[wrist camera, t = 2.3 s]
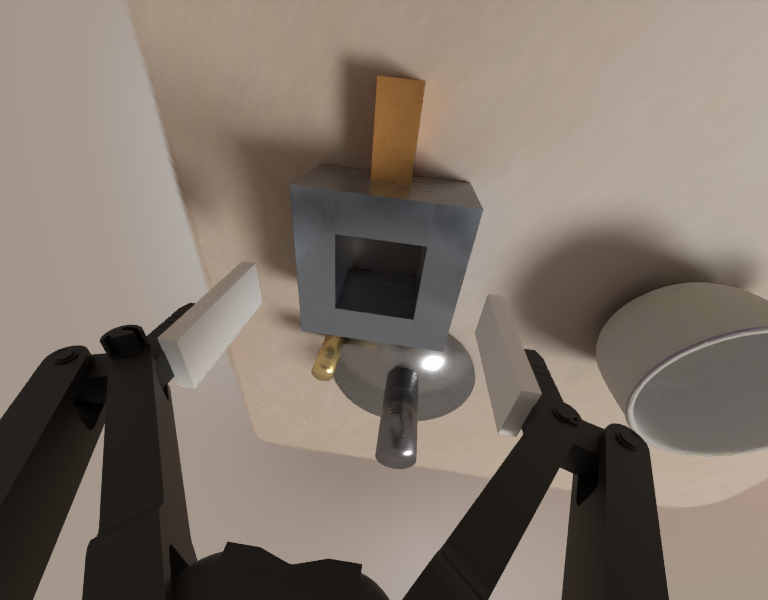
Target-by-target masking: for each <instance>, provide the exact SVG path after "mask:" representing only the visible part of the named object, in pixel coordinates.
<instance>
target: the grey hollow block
mask: <svg viewBox="0 0 768 600" xmlns="http://www.w3.org/2000/svg"><path fill="white" fill-rule="evenodd" d="M424 89H425V81H423V80H413V79H404V78H395V77H386V76H377V89H376V105H375V120H374V136H373V152H372V167H371V170H364V169H356V168H348V167H340V166H332V165H324V164H320V165H318V166H317V167H315V168H314V169H312V170H311V171H309V172H308V173H306V174H305V175H303V176H302V177H300V178H299V179H297V180H296V181H294V182H293V183H291V184H290V185H289V186H290V197H291V209H292V221H293V233H294V244H295V256H296V268H297V279H298V291H299V303H300V315H301V326H302V331H307V332H314V333H320V334H327V335H334V336H341V337H347V338H354V339H361V340H367V341H374V342H381V343H387V344H394V345H401V346H408V347H414V348H421V349H428V350H434V351H441V352H443V349H444V346H445V342H446V339H447V335H448V332H449V328H450V325H451V321H452V318H453V314H454V311H455V307H456V304H457V300H458V297H459V293H460V289H461V286H462V282H463V279H464V275H465V272H466V268H467V265H468V261H469V258H470V254H471V251H472V247H473V244H474V240H475V237H476V233H477V230H478V226H479V222H480V219H481V215H482V212H483V208H482V206H481V204H480V202H479V200H478V198H477V196H476V194H475V191H474V189H473V187H472V185H471V183H468V182H460V181H452V180H444V179H436V178H428V177H420V176H413V168H414V161H415V154H416V147H417V139H418V132H419V125H420V118H421V111H422V103H423V96H424ZM353 237H359V238H366V239H374V240H381V241H389V242H396V243H404V244H411V245H418V246H422V247H421V252H420V258H419V264H418V269H417V275H416V277H409V276H401V275H394V274H387V273H380V272H373V271H365V270H358V269H352V257H353Z"/></svg>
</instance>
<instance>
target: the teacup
mask: <svg viewBox="0 0 768 600" xmlns="http://www.w3.org/2000/svg"><path fill="white" fill-rule="evenodd" d="M596 359H597V364H598V367H599V370H600V372H601V375H602V377H603V379H604V380H605V382H606V384H607V386H608V388H609V390H610V391H611V393H612V395H613V396H614V398H615V400H616V401H617V403H618V405H619V406H620V408H621V409H622V411H623V413H624V414H625V417H626V421H627V423H628V425H629V427H630V428H631V429H632V430H633V431H635V432H636V433H637V434H638V435H640V436H641V437H642V438H643V440H644V441H645V442H646V443H647V444H649V445H651V446H653V447H655V448H658V449H661V450H663V451H666V452H669V453H675V454H679V455H686V456H694V457H723V456H733V455H741V454H748V453H754V452H759V451H763V450H767V449H768V301H767V300H765V299H763V298H761V297H759V296H757V295H755V294H752V293H750V292H748V291H745V290H742V289H739V288H736V287H732V286H728V285H723V284H717V283H708V282H693V283H681V284H675V285H670V286H666V287H662V288H659V289H656V290H653V291H651V292H648V293H646V294H643V295H641V296H639V297H637V298H635V299H634V300H632V301H630V302H629V303H627V304H626V305H624V306H623V307H621V308H620V309H619V310H618V311H617V312H616V313H614V314H613V316H612V317H611V318H610V319H609V320H608V321H607V323H606V324H605V325H604V327H603V329H602V330H601V332H600V334H599V337H598V340H597V344H596Z"/></svg>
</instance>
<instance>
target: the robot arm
mask: <svg viewBox="0 0 768 600" xmlns="http://www.w3.org/2000/svg"><path fill="white" fill-rule="evenodd" d="M261 304H262V299H261V293H260V287H259V281H258V275H257V268H256V263H251V262H244V261H242V262H241V263H240V264H239V265H238V266H237V267H236V268H235V269H233V270H232V271H231V272H230V273H229V274H228V275H227V276H226V277H225V278H223V279H222V280H221V281H220V282H219V283H218V284H217V285H216V286H215V287H213V288H212V289H211V290H210V291H209V292H208V293H207V294H206V295H205V296H204V297H202V298H201V299H200V300H199V301H198V302H197V303H196V304H195V303H189V304H187V305H185V306H183V307H181V308H179V309H178V310H177V311H176V312H174V313H173V314H172V315H171V317H168V318H167V319H166V320H165V322H163V323H162V324H160V325H159V326H158V327H157V328H156V329H155V330H153V331H152V332H151V333H150V334H149V335H148V336H146V335H145V333H144V331H143V329H142V327H140V326H138V325H125V326H121V327H117V328H114V329H112V330H110V331H108V332H107V333H105V334H104V335H103V336H102V337H101V339H100V343H101V344H102V346H103V348H104V350H105V351H106V353H105V354H94V355H91V354H90V352H89V350H88V349H87V348H86V347H84V346H70V347H65V348H63V349H59V350H57V351H55V352H53V353H52V354H50V355H48V356H47V357H46V358H45V359H44V360H43V361H42V362H41V364H40V365H39V367H38V368H37V369H36V371H35V372H34V373H33V375H32V376H31V378H30V379H29V381H28V382H27V383H26V385H25V386H24V387H23V389H22V390H21V392H20V393H19V394H18V396H17V397H16V399H15V400H14V401H13V403H12V404H11V405H10V407H9V408H8V410H7V411H6V412H5V414H4V415H3V417H2V418H1V420H0V600H33V598H34V595H35V593H36V591H37V588H38V586H39V583H40V581H41V578H42V576H43V573H44V571H45V569H46V566H47V564H48V561H49V559H50V556H51V554H52V551H53V549H54V547H55V544H56V542H57V539H58V537H59V534H60V532H61V529H62V527H63V524H64V522H65V520H66V517H67V514H68V512H69V510H70V507H71V505H72V502H73V500H74V497H75V495H76V493H77V490H78V488H79V485H80V482H81V480H82V478H83V475H84V473H85V470H86V468H87V466H88V463H89V460H90V458H91V456H92V453H93V451H94V448H95V446H96V443H97V441H98V439H99V436H100V434H101V431H102V429H103V426H104V424H105V434H104V451H103V468H102V486H101V503H100V521H99V532H98V535H97V537H95V538H94V539H92V540H90V542H89V545H88V547H87V552H86V559H85V573H84V584H83V596H82V600H389V598H388V597H387V595H386V594H385V593H384V591H383V590H382V589H381V588H380V587H379V586H378V585H377V584H376V583H375V582H374V581H373V580H372V579H370V578H369V577H367V576H366V575H364V574H362V573H361V569H362V564H357V563H352V562H346V561H339V560H334V559H324V560H318V561H312V562H306V563H300V564H289V563H287V562H285V561H283V560H281V559H280V558H278V557H276V556H274V555H273V554H271V553H269V552H267V551H266V550H264V549H262V548H260V547H255V546H250V545H244V544H238V543H232V542H227V544H226V546H225V549H224V551H223V552H219V553H216V554H213V555H210V556H208V557H205V558H203V559H200V560H199V561H197V558H196V554H195V551H194V548H193V545H192V541H191V536H190V529H189V522H188V515H187V507H186V500H185V493H184V486H183V479H182V472H181V464H180V458H179V449H178V442H177V435H176V428H175V420H174V413H173V406H172V399H171V391H170V387H169V385H168V383H169V382H170V380H171V379H172V378H173V377H174V378H175V380H176V382H177V384H178V386H183V387H189V388H196V387H197V385H198V384H199V383H200V381H201V380H202V379H203V378H204V376H205V375H206V374H207V372H208V371H209V370H210V369H211V367H212V366H213V365H214V363H215V362H216V361H217V360H218V359H219V357H220V356H221V355H222V353H223V352H224V351H225V350H226V348H227V347H228V346H229V345H230V343H231V342H232V341H233V339H234V338H235V337H236V336H237V334H238V333H239V332H240V331H241V329H242V328H243V327H244V325H245V324H246V323H247V322H248V320H249V319H250V318H251V317H252V315H253V314H254V313H255V311H256V310H257V309H258V308H259V306H260V305H261ZM475 335H476V339H477V343H478V348H479V352H480V356H481V361H482V365H483V370H484V374H485V378H486V383H487V387H488V391H489V396H490V400H491V404H492V409H493V413H494V418H495V422H496V426H497V431H498V434H503V435H510V436H516V437H517V435H518V433H519V432H520V430H521V428H522V431H523V436H522V437H521V438H520V440H519V441H518V443H517V444H516V445H515V447H514V448H513V449H512V451H511V452H510V454H509V455H508V456H507V458H506V459H505V461H504V462H503V463H502V465H501V466H500V467H499V469H498V470H497V472H496V473H495V474H494V476H493V477H492V479H491V480H490V481H489V483H488V484H487V485H486V487H485V488H484V490H483V491H482V492H481V494H480V495H479V497H478V498H477V499H476V501H475V502H474V503H473V505H472V506H471V508H470V509H469V510H468V512H467V513H466V514H465V516H464V518H463V519H462V520H461V521H460V523H459V524H458V526H457V527H456V528H455V530H454V531H453V533H452V534H451V535H450V537H449V538H448V539H447V541H446V542H445V544H444V545H443V546H442V547H441V549H440V550H439V551H438V552H437V553H436V554H435V555H434V557H433V558H432V560H431V561H430V562H429V564H428V565H427V566H426V568H425V569H424V570H423V572H422V573H421V575H420V576H419V577H418V579H417V580H416V582H415V583H414V584H413V586H412V587H411V588H410V590H409V591H408V593H407V594H406V595H405V597H404V598H403V599H402V600H488V599H489V597H490V595H491V593H492V591H493V589H494V588H495V586H496V584H497V582H498V580H499V579H500V576H501V575H502V573H503V571H504V569H505V567H506V565H507V564H508V562H509V560H510V558H511V556H512V554H513V552H514V551H515V549H516V547H517V545H518V543H519V541H520V540H521V538H522V536H523V534H524V532H525V531H526V528H527V527H528V525H529V523H530V521H531V519H532V518H533V516H534V514H535V512H536V510H537V508H538V506H539V505H540V503H541V501H542V499H543V497H544V495H545V494H546V492H547V490H548V488H549V486H550V484H551V483H552V481H553V479H554V477H555V475H556V473H557V471H558V470H559V468H562V469H565V470H567V471H569V472H571V473H573V482H572V493H571V504H570V514H569V525H568V537H567V547H566V558H565V569H564V580H563V590H562V600H669V597H668V589H667V581H666V574H665V566H664V559H663V551H662V543H661V536H660V529H659V520H658V513H657V505H656V497H655V490H654V482H653V475H652V467H651V459H650V452H649V448H648V446H647V444H646V442H645V441H644V440H643V438H642V437H641V436H640V435H638V434H637V433H636V432H635V431H633V430H632V429H630V428H628V427H627V426H624V425H621V424H610V425H608V426H607V427H606V428H605V429H603V428H600V427H598V426H595V425H593V424H590V423H588V422H586V421H583V420H582V419H581V417H580V415H579V414H578V413H577V411H576V410H575V409H573V408H572V407H571V406H570V405H568V404H566V403H564V402H563V400H562V398H561V396H560V394H559V391H558V389H557V387H556V385H555V383H554V381H553V379H552V377H551V374H550V372H549V370H548V369H547V366H546V364H545V362H544V359H543V358H542V357H541V356H540V355H539V354H538V353H537V352H536V351H535V350H529V349H523V346H522V344H521V341H520V339H519V336H518V334H517V331H516V329H515V327H514V324H513V322H512V319H511V317H510V314H509V312H508V309H507V307H506V305H505V302H504V300H503V297H502V296H497V295H489V294H488V296H487V299H486V302H485V305H484V308H483V311H482V314H481V317H480V320H479V322H478V325H477V328H476V331H475Z"/></svg>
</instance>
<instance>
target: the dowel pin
mask: <svg viewBox="0 0 768 600" xmlns="http://www.w3.org/2000/svg"><path fill="white" fill-rule="evenodd" d="M345 339H346V337H341V336H334V335H326V337H325V339H324V342H323V344H322V347H321V349H320V351H319V354H318V356H317V359H316V361H315V363H314V366H313V368H312V375H313V376H314V377H315V378H317V379H318V380H321V381H329V380H331V379H332V378H333V376H334V373H335V369H336V366H337V363H338V360H339V357H340V354H341V351H342V348H343V345H344V342H345Z"/></svg>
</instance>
